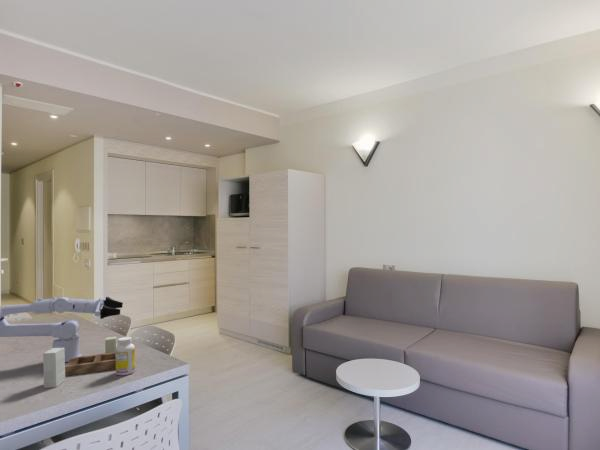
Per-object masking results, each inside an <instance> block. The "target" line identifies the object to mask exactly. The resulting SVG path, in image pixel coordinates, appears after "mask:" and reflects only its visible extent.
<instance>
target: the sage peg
mask: <svg viewBox="0 0 600 450" xmlns="http://www.w3.org/2000/svg"><path fill="white" fill-rule="evenodd" d="M104 341H105V344H104V345H105V347H104V348H105V352H104V354H106V353H114V352H115V349H116V347H117V346H118V345H117V343H118V339H117V335H115V336H108V337H105V339H104Z"/></svg>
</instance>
